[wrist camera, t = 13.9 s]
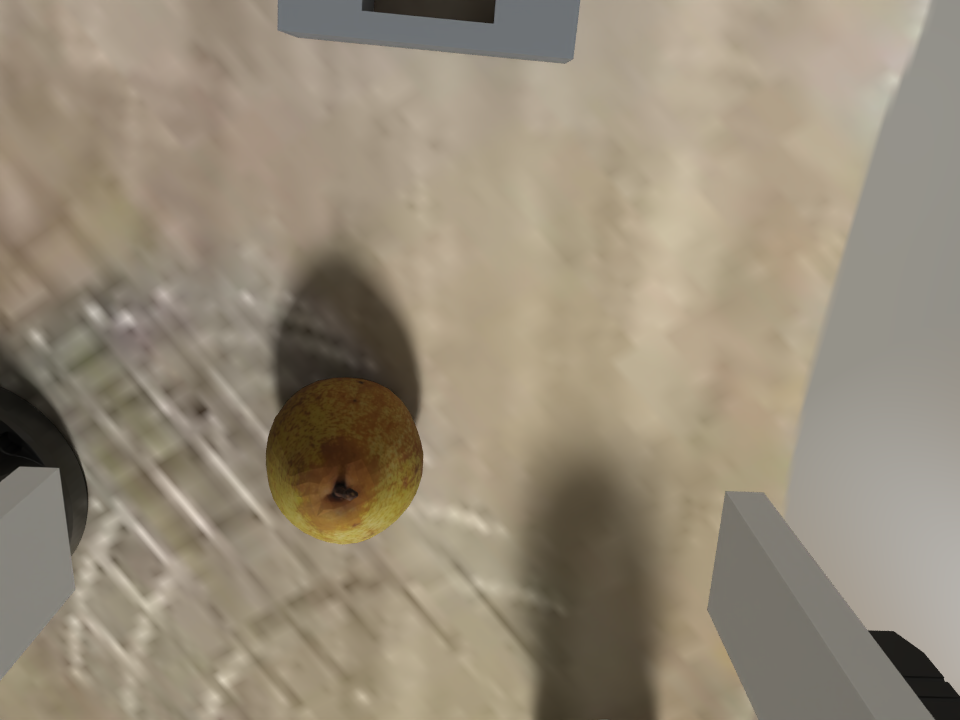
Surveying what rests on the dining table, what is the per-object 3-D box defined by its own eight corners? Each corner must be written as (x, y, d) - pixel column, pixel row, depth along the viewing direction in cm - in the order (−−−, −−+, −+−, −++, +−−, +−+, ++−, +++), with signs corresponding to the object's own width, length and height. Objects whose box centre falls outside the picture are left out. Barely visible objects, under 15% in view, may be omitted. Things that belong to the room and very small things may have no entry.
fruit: (304, 508, 49) (249, 629, 38) (268, 373, 46) (196, 459, 35) (440, 487, 49) (425, 604, 37) (411, 349, 46) (386, 430, 35)
